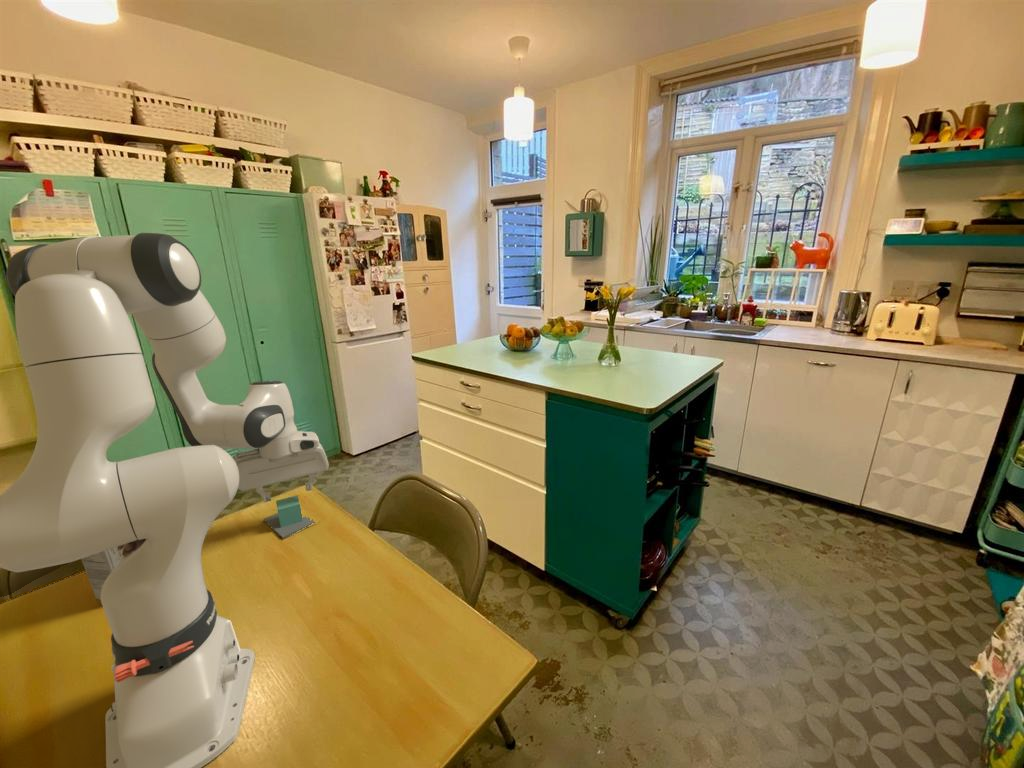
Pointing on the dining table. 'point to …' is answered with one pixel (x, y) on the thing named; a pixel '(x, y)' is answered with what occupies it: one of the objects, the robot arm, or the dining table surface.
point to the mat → (289, 529)
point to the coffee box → (107, 563)
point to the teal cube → (289, 511)
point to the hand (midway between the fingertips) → (288, 494)
